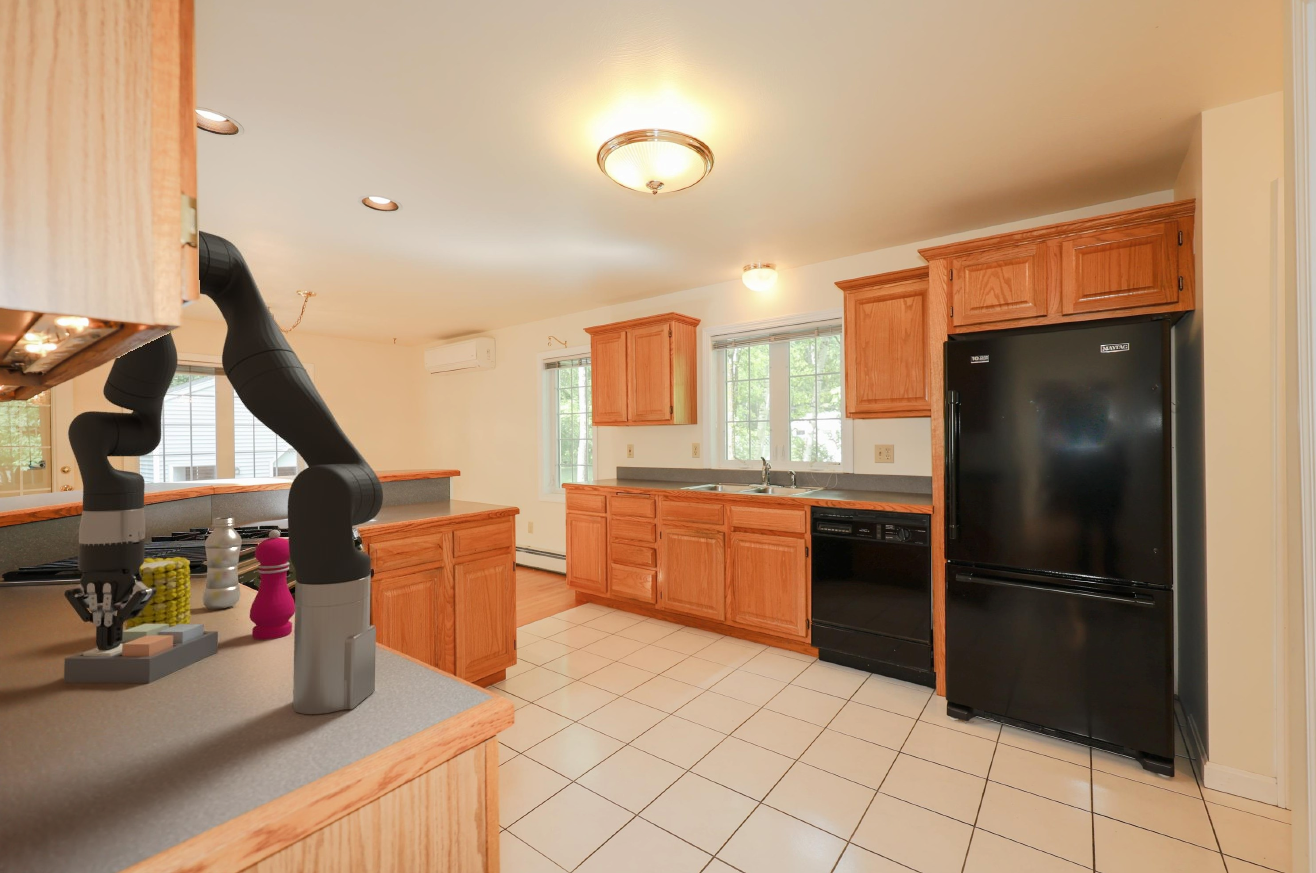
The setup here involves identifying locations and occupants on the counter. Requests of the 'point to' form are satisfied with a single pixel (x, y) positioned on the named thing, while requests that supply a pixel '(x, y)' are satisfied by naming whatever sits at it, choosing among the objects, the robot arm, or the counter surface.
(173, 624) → the food
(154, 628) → the key
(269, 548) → the pepper mill
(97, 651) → the key
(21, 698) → the counter surface
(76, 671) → the keypad
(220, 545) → the plastic bottle
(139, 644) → the key
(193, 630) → the key
